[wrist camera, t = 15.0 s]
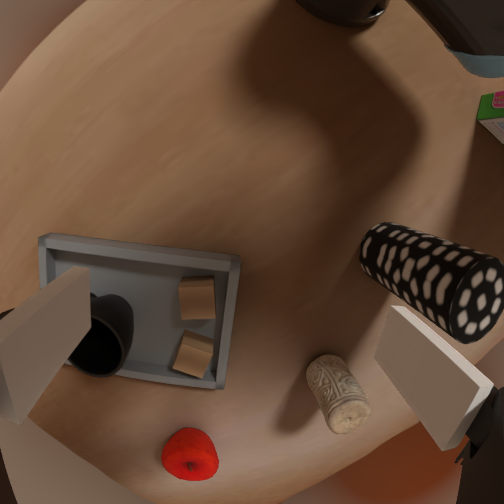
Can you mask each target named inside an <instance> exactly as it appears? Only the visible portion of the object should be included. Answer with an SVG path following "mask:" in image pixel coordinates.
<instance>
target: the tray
mask: <svg viewBox="0 0 504 504" xmlns="http://www.w3.org/2000/svg"><path fill="white" fill-rule="evenodd" d="M73 266H78V267H84V268H90V292H91V293H93V294H95V295H96V296H97V297H99V296H104V295H107V294H115V295H119V296H121V297H123V298H124V299H125V300H126V301H127V302H128V303H129V304H130V306H131V308H132V310H133V315H134V318H133V319H134V334H133V341H132V346H131V349H130V351H129V353H128V356H127V358H126V360H125V362H124V364H123V366H122V368H121V369H120V370H119V371H118V372H117V373H115V374H114V375H119V376H124V377H130V378H135V379H141V380H147V381H154V382H161V383H168V384H175V385H183V386H191V387H201V388H211V389H222V390H224V385H225V378H226V370H227V363H228V356H229V348H230V341H231V333H232V326H233V319H234V312H235V304H236V297H237V290H238V283H239V276H240V269H241V260H240V256H238V255H229V254H221V253H213V252H205V251H196V250H188V249H180V248H172V247H163V246H155V245H147V244H139V243H131V242H123V241H115V240H107V239H99V238H91V237H83V236H75V235H67V234H59V233H48V234H46V235H43V236H41V237H39V277H40V289H42V288H43V287H45V286H46V285H47V284H49V283H50V282H52V281H53V280H54V279H56V278H57V277H59V276H60V275H61V274H63V273H64V272H66V271H67V270H69V269H70V268H71V267H73ZM212 275H214V282H215V297H216V318H211V319H186V320H182V317H181V308H180V300H179V290H178V287H179V284H180V281H181V279H182V277H191V276H212ZM185 329H186V330H189V331H192V332H195V333H198V334H200V335H203V336H206V337H209V338H212V339H213V355H212V357H211V360H210V362H209V364H208V366H207V369H206V371H205V373H204V375H203V378H200V377H197V376H194V375H191V374H188V373H185V372H182V371H179V370H176V369H173V364H174V359H175V355H176V351H177V349H178V346H179V343H180V341H181V338H182V336H183V333H184V330H185ZM64 364H68V365H72V364H71V363H70V362H69V361H68V359H67V360H66V361H65V363H64ZM72 366H73V365H72Z"/></svg>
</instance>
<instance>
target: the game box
mask: <svg viewBox="0 0 504 504" xmlns="http://www.w3.org/2000/svg"><path fill="white" fill-rule="evenodd" d="M477 120H478V121H479V122H480V123H481V124H482V125H483V126H485V127H486V128H487V129H488V130H489V131H490V132H491V133H492V134H493V135H494V136H495V137H496V138H497V139H498V140H499V141H500V142H501V143H502V144H503V145H504V91H500V92H496V93H491V94H486V95H482V97H481V102H480V106H479V111H478V115H477Z"/></svg>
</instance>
